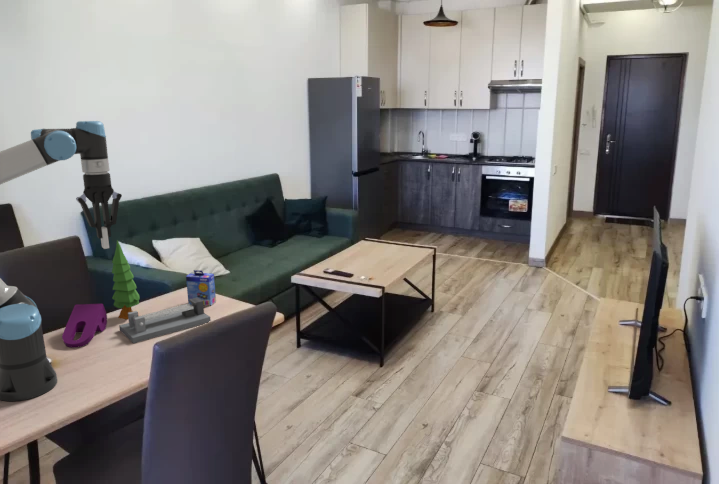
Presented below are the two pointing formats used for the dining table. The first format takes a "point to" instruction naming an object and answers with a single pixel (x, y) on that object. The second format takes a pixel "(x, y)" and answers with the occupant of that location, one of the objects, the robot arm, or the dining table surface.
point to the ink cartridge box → (201, 287)
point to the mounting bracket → (84, 324)
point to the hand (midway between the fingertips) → (105, 247)
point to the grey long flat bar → (166, 312)
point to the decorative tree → (123, 284)
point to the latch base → (164, 323)
